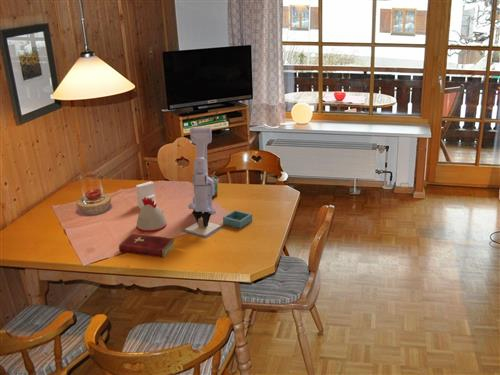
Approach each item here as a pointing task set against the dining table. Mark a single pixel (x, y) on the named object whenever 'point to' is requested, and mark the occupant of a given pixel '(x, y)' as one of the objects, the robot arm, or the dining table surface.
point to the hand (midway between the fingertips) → (202, 225)
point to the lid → (202, 228)
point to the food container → (215, 185)
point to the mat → (201, 235)
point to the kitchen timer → (150, 217)
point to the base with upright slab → (145, 193)
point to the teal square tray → (237, 219)
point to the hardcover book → (146, 245)
